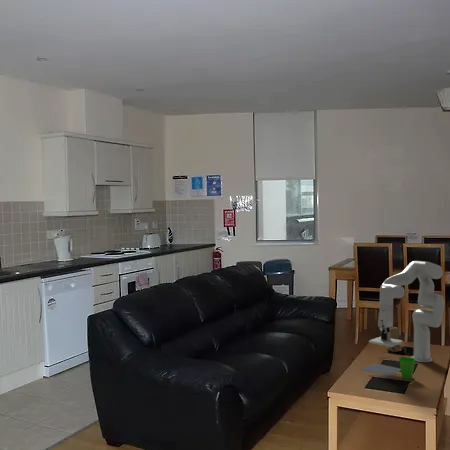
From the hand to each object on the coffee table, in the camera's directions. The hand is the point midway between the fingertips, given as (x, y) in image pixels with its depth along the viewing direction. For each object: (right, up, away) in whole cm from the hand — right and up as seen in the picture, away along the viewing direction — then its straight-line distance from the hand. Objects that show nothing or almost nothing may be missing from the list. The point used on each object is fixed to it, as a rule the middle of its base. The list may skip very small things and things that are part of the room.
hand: (385, 338), depth 305 cm
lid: (0, -2, 0) cm, 2 cm away
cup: (+8, -20, -12) cm, 24 cm away
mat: (-2, -19, +3) cm, 19 cm away
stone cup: (+20, -18, +50) cm, 56 cm away
